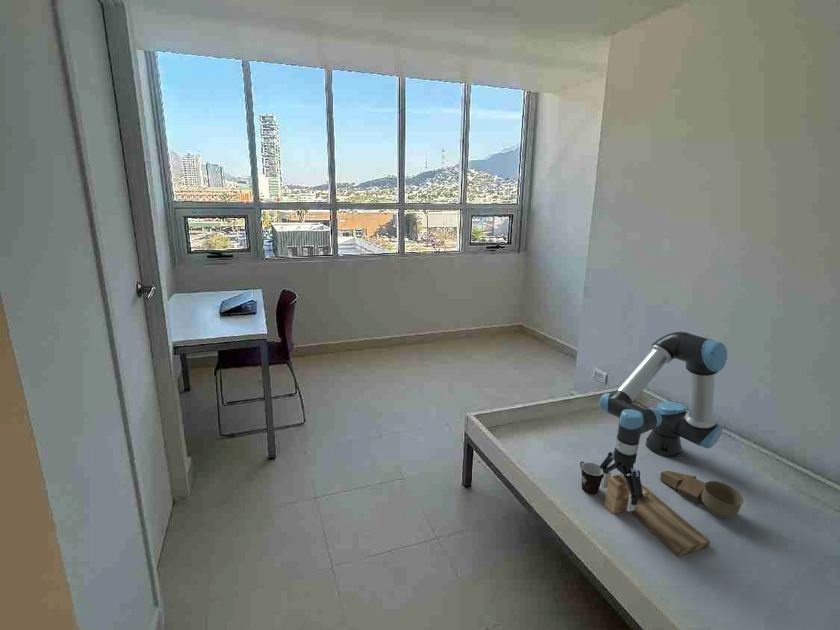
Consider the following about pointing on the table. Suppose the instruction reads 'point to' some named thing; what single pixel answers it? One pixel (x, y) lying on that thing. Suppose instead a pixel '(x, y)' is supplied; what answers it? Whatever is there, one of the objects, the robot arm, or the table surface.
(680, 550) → the board
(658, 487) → the table surface
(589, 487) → the coffee mug
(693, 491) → the brown wooden blocks
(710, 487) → the bowl
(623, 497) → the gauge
